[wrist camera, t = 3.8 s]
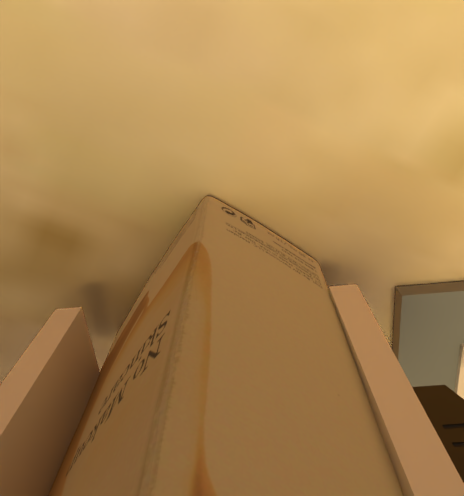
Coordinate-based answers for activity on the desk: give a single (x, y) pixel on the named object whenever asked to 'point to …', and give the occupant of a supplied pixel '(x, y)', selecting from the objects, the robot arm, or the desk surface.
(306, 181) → the desk surface
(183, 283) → the skincare box
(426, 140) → the desk surface
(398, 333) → the marked board
